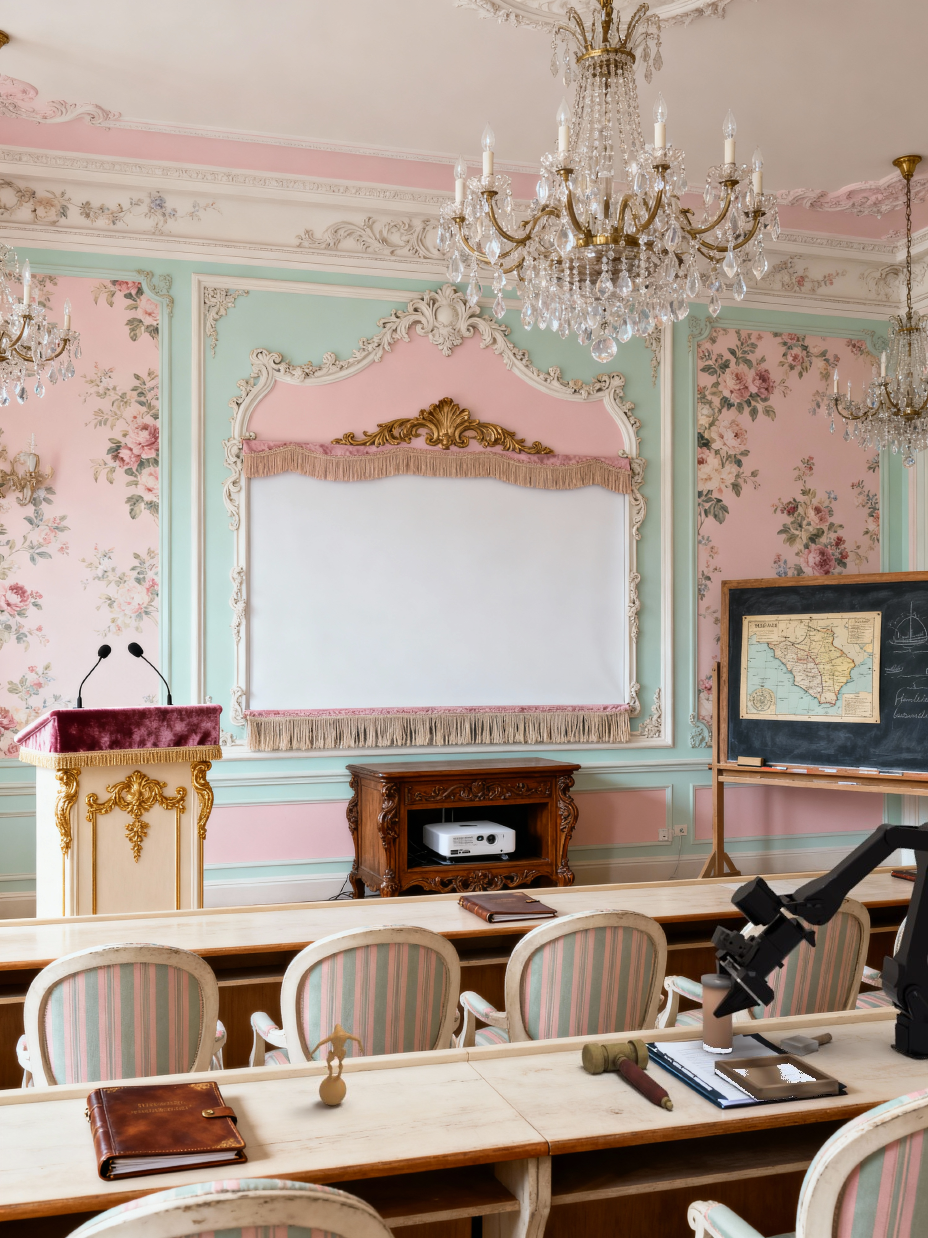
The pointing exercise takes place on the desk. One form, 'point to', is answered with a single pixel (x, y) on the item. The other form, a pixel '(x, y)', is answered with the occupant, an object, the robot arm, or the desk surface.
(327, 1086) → the figurine
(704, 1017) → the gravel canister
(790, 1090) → the walnut tray
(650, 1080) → the gavel
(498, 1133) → the desk surface
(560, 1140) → the desk surface
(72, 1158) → the desk surface
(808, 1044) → the mallet
